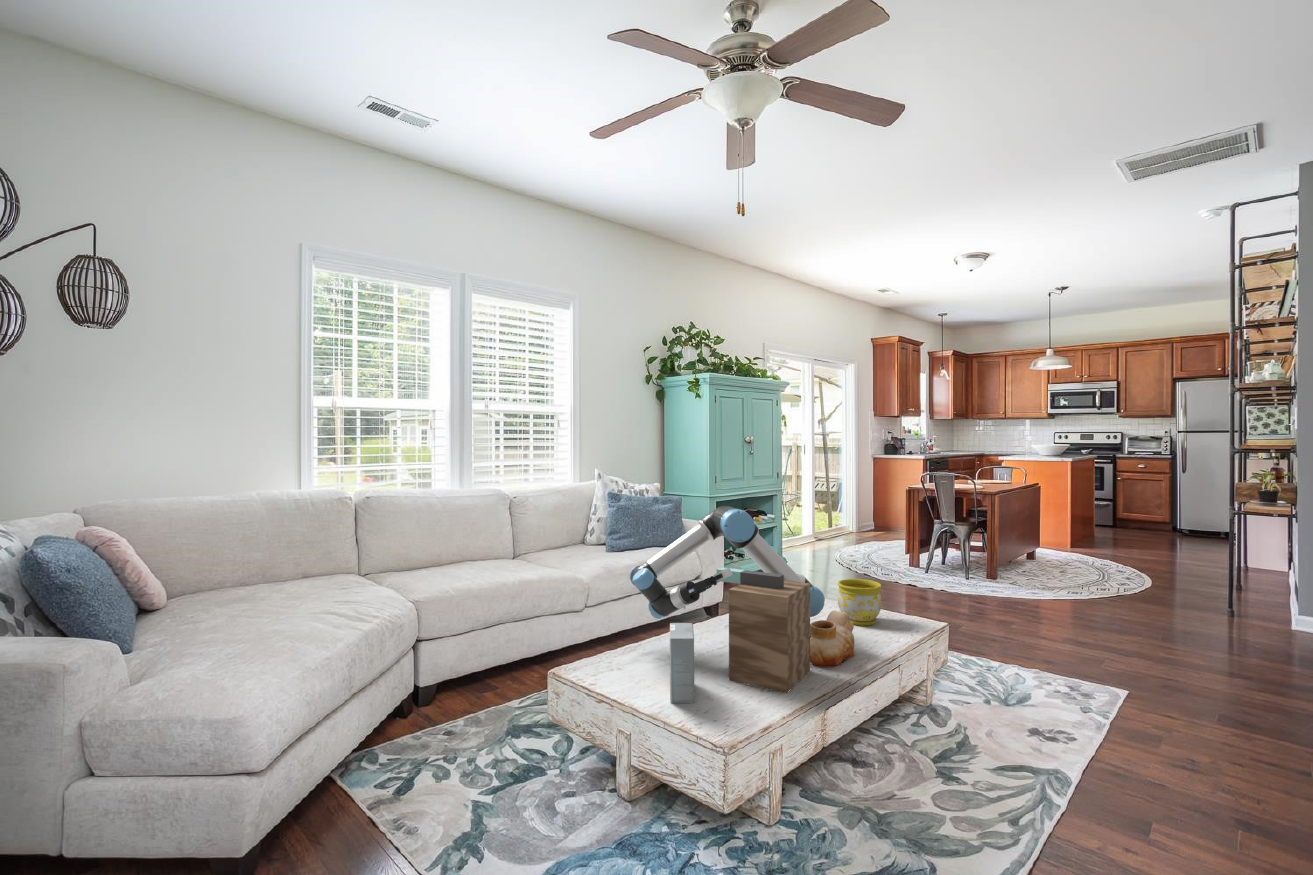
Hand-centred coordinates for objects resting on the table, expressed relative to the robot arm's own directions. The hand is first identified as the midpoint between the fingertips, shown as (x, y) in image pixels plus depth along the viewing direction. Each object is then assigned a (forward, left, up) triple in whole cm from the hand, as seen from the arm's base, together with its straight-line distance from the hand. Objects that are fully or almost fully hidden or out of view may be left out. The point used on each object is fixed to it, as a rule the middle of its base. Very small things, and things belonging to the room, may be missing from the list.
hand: (735, 568), depth 224 cm
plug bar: (0, +5, -4) cm, 7 cm away
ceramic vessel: (-28, +25, -35) cm, 51 cm away
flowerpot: (-78, +22, -35) cm, 88 cm away
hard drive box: (+28, -5, -35) cm, 45 cm away
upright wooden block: (0, +13, -34) cm, 37 cm away
